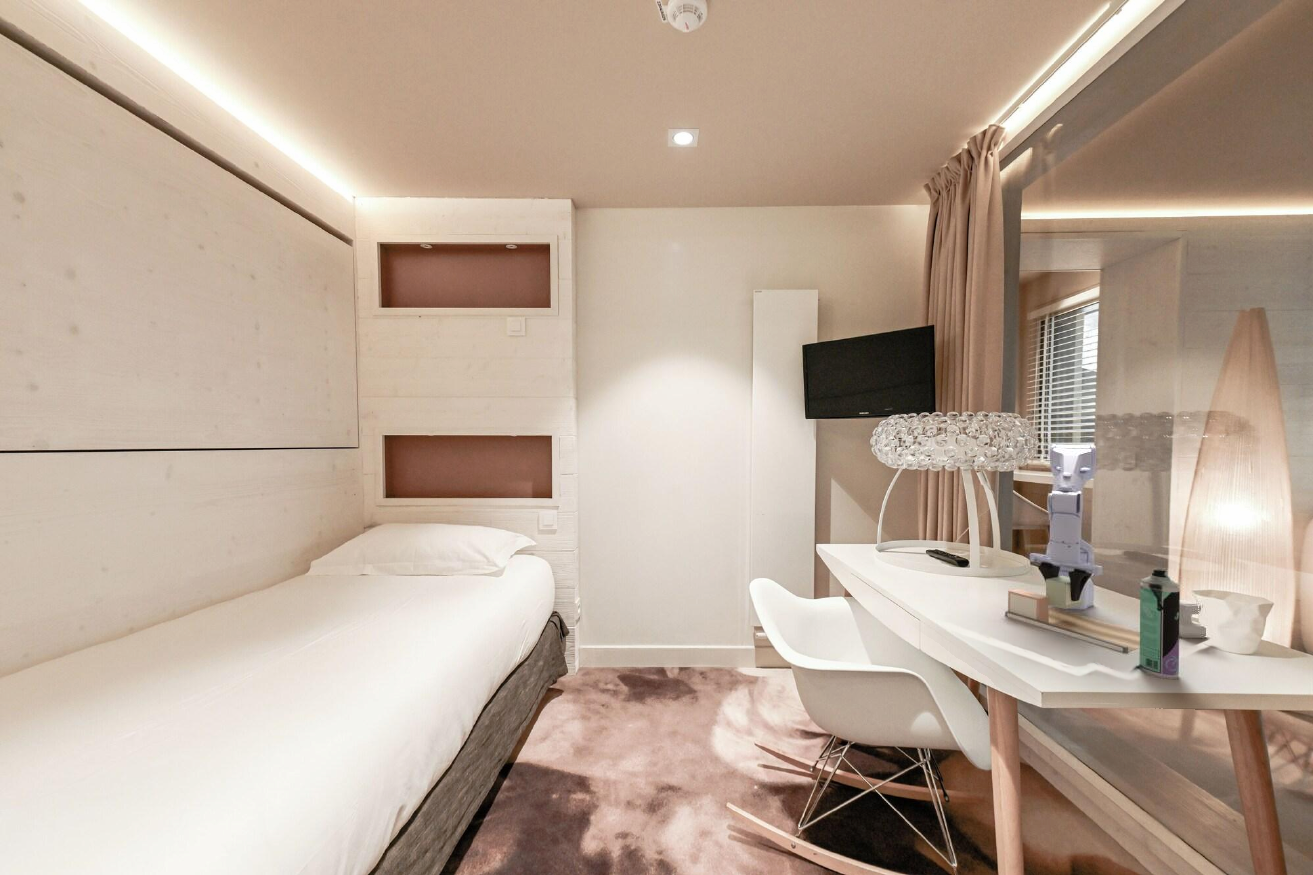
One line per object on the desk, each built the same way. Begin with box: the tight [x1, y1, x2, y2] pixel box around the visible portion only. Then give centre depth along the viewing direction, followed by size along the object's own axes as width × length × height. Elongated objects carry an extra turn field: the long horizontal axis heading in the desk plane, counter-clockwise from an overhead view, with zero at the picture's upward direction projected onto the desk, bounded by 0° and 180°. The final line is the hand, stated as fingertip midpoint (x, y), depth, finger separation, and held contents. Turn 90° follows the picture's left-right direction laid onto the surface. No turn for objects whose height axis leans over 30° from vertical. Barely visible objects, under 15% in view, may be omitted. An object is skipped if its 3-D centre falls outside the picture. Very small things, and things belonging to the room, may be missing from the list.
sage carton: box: [1045, 576, 1081, 610], centre depth 126 cm, size 4×7×6 cm, turn 115°
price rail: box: [1004, 610, 1129, 653], centre depth 118 cm, size 1×24×2 cm, turn 25°
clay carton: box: [1007, 588, 1050, 622], centre depth 127 cm, size 4×7×6 cm, turn 25°
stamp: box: [1179, 599, 1206, 639], centre depth 118 cm, size 9×7×8 cm
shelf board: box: [1047, 606, 1140, 654], centre depth 122 cm, size 17×24×1 cm
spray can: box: [1139, 568, 1181, 680], centre depth 101 cm, size 6×6×20 cm
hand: (1064, 597), depth 126 cm, fingers closed on sage carton, 4 cm apart
